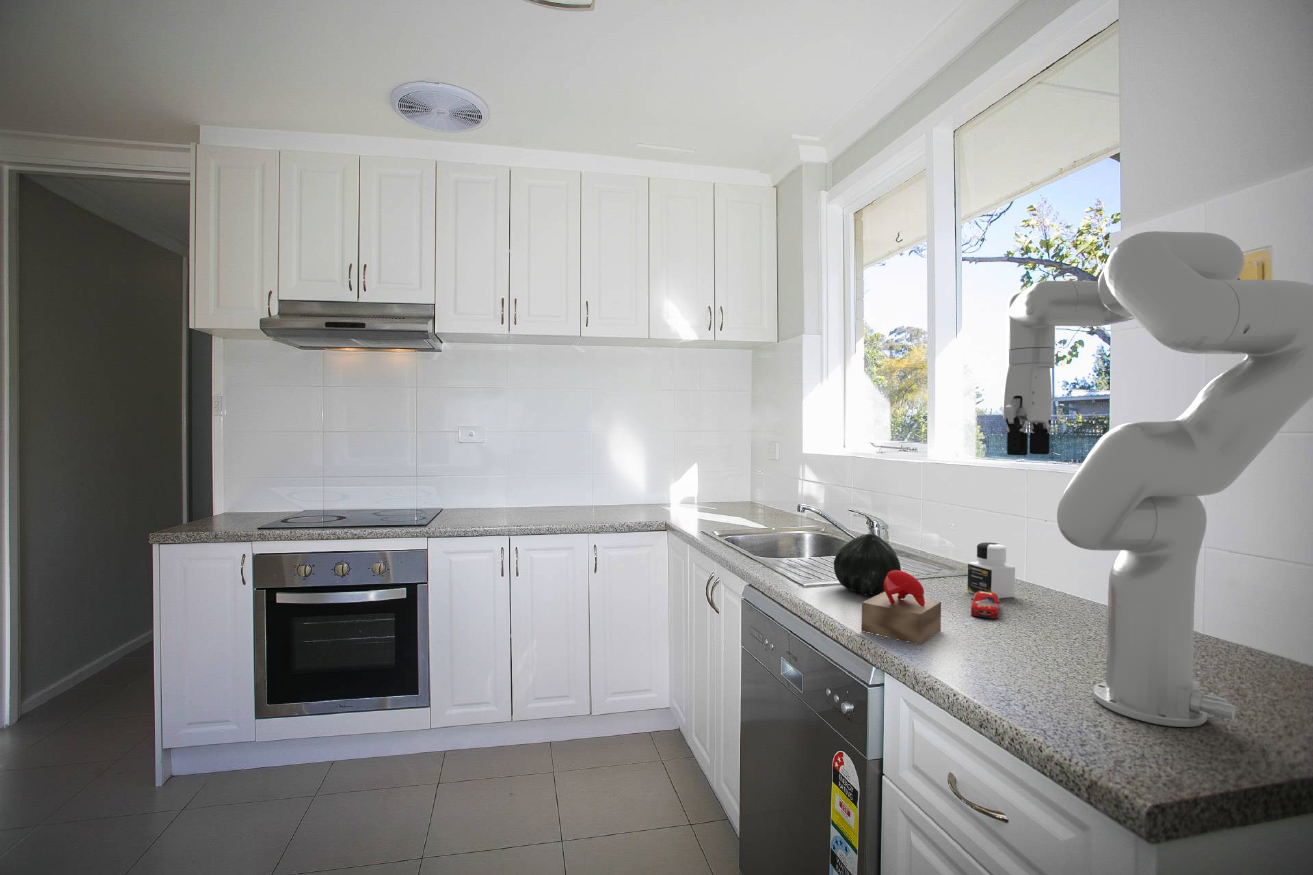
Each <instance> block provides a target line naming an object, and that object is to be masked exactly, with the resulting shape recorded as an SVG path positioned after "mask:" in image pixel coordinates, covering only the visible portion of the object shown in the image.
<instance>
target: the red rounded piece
mask: <svg viewBox="0 0 1313 875" xmlns="http://www.w3.org/2000/svg"><path fill="white" fill-rule="evenodd" d="M884 589H885V592H886V595H887V597H888V599H889V601H890V603H891V604H894V603H895V601H894V599H893V597H892V595H893V594H898V596H897V598H898V599H899V600H900V599H904V598H905V597H906V596H909V595H910V596H912V597H914V598H915V600H916V601H917V602H918V604H919V605H921V606H924V605H925V600H924V599H925V596H924V595H925V590H924V587H923V585H922V583H921V582H920V581H919V580H918V579H917V578H916V577H915V576H914V575H912V574H910V573H908V572H907V571H903V570H901V571H900V570H893V571H890V572H889V573H888V574H887V576H886V579H885V580H884Z"/></svg>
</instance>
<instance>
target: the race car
mask: <svg viewBox="0 0 1313 875" xmlns="http://www.w3.org/2000/svg"><path fill="white" fill-rule="evenodd" d="M970 600H971V601H972V603H971V607H970V609H971V610H970V611H971V616H973V617H980V618H983V619H993V620H994V619H995V620H999V616H1000V603H1001V601H1000V599H999V598H998V596H997V595H996V594H995V593H992V592H986V591H978V592H976V593H975V594H973V597H971V598H970Z"/></svg>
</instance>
